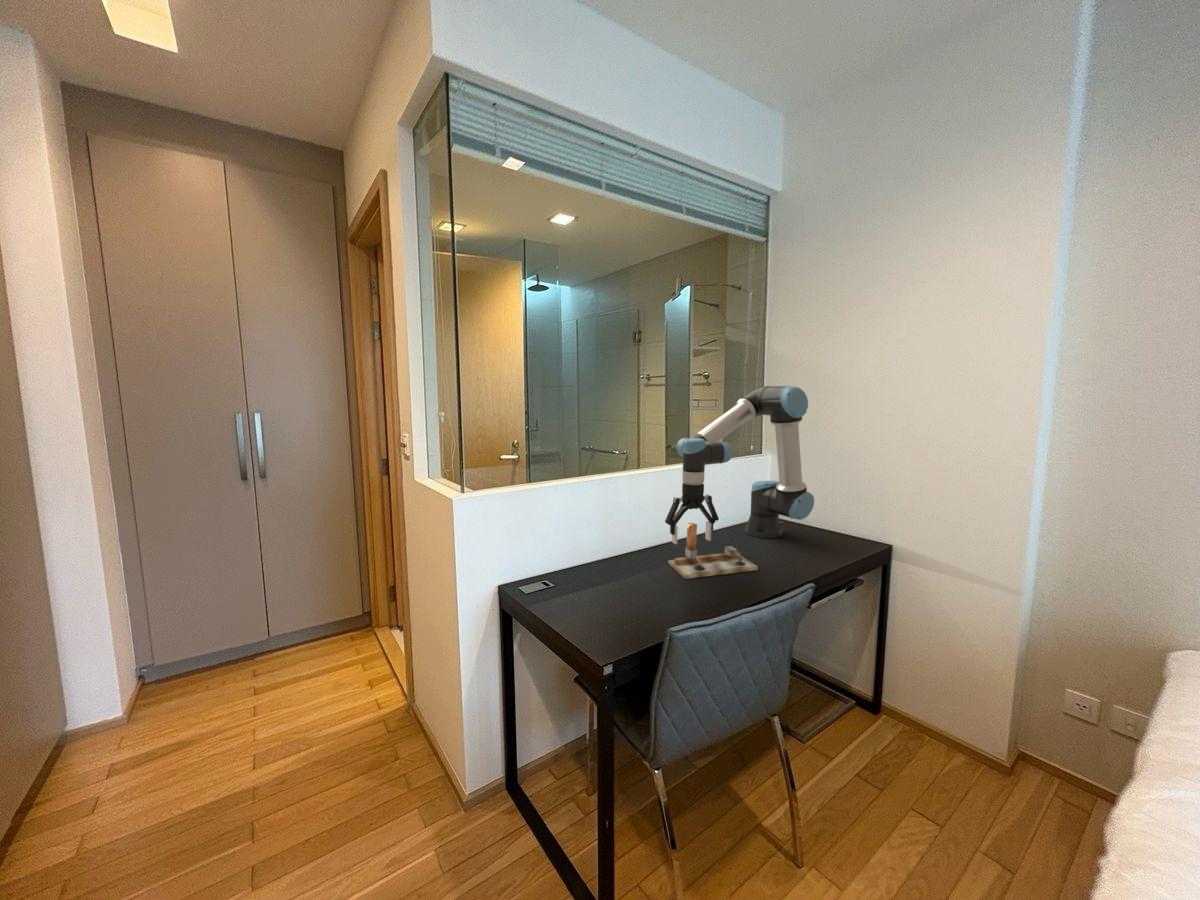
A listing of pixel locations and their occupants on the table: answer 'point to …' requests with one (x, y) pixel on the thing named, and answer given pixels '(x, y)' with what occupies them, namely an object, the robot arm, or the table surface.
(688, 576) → the holed mounting plate
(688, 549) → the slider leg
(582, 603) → the table surface
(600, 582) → the table surface
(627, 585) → the table surface
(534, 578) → the table surface
